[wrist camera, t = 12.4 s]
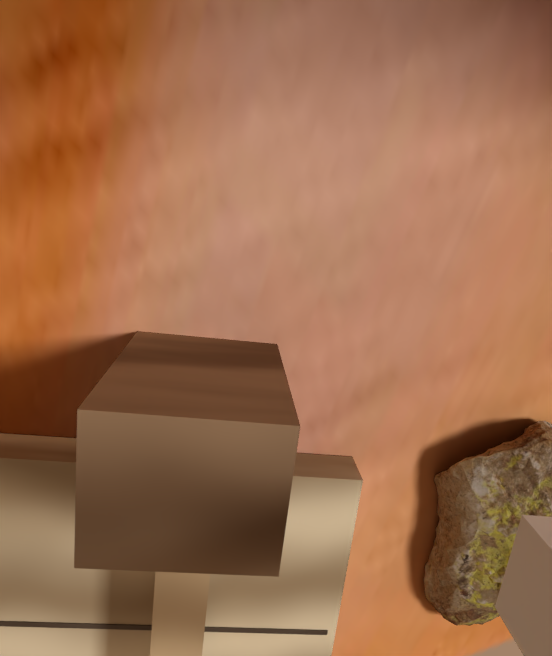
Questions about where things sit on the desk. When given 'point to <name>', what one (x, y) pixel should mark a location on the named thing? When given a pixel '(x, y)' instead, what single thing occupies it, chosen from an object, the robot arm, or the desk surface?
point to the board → (138, 586)
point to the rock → (485, 522)
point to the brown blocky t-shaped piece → (185, 472)
